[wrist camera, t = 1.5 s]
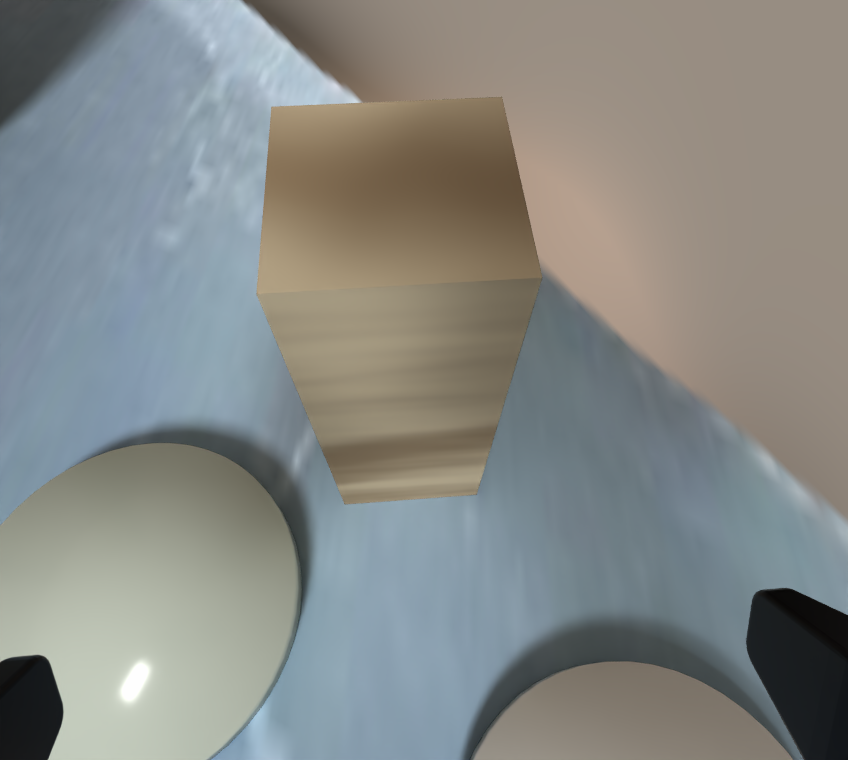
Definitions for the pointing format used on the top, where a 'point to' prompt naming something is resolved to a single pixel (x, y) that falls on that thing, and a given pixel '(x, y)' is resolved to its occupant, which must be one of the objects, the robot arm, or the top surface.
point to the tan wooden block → (398, 285)
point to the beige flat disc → (625, 719)
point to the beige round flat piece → (151, 600)
